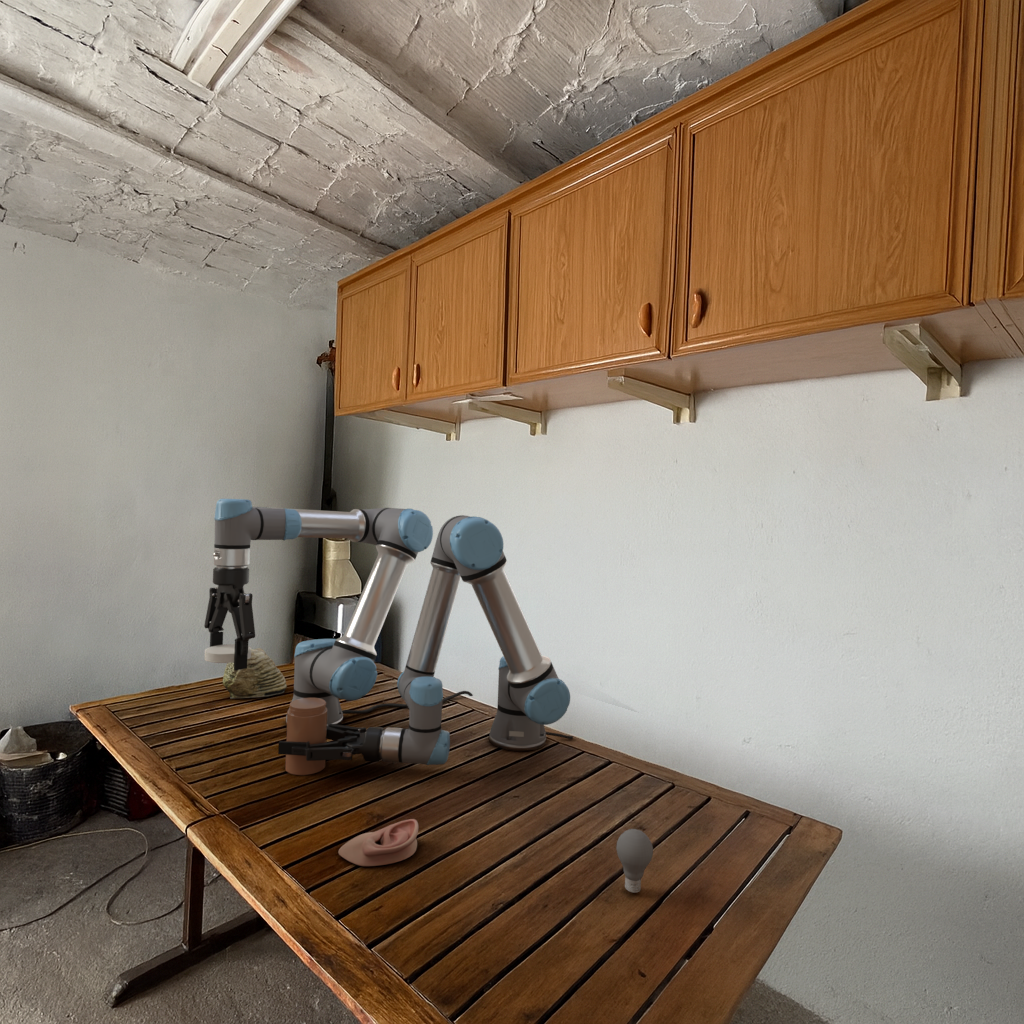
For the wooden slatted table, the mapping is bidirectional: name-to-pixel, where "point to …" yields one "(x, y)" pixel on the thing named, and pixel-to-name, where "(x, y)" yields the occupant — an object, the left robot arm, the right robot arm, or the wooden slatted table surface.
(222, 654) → the lid
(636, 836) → the light bulb
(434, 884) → the wooden slatted table surface
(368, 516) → the left robot arm
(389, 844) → the anatomical model
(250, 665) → the fossil
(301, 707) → the jar
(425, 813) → the wooden slatted table surface
